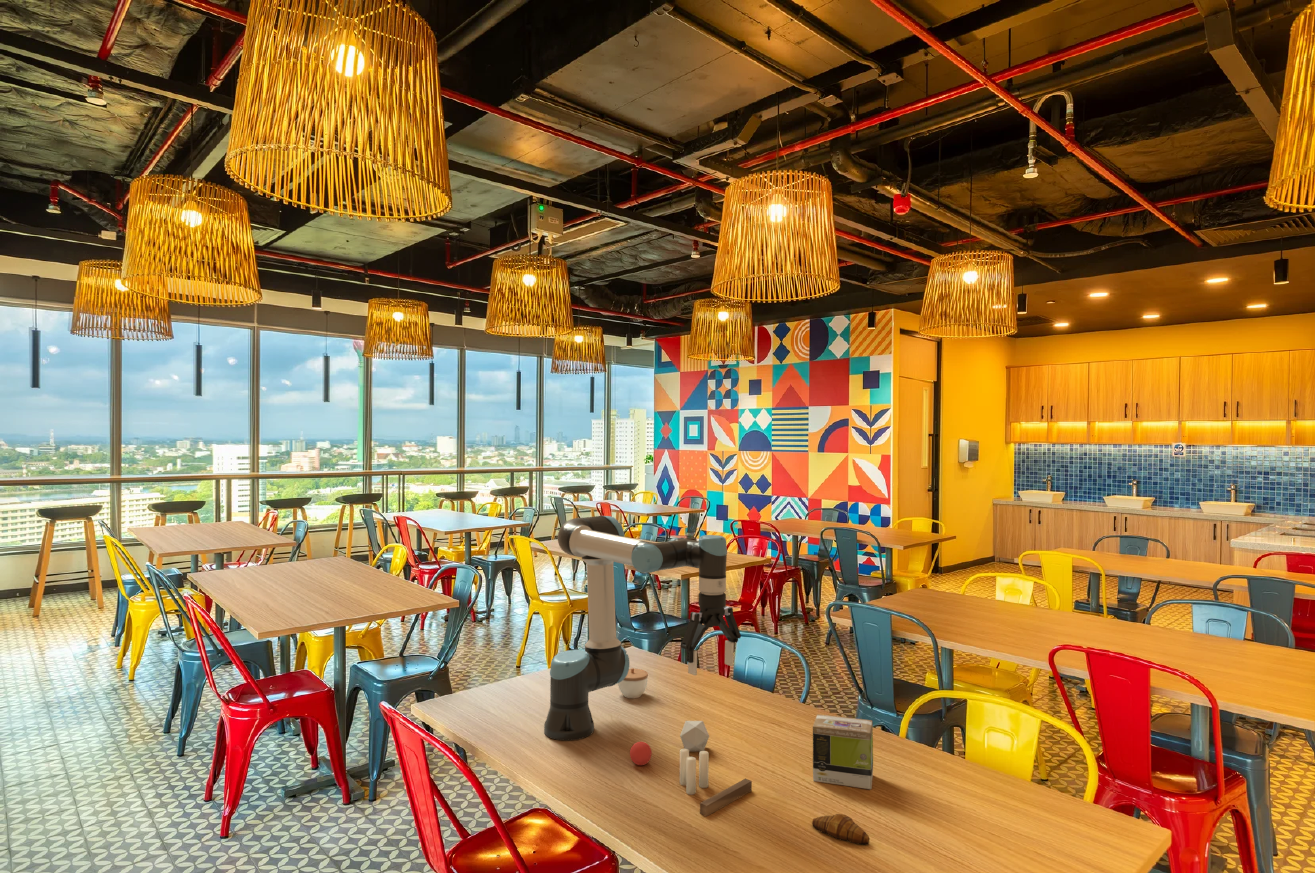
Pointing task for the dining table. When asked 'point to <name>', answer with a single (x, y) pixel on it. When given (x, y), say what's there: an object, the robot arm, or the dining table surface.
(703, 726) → the die
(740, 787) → the back rail
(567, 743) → the dining table surface
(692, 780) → the back pin right
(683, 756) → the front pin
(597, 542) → the robot arm
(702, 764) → the back pin left
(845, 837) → the croissant
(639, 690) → the lidded jar
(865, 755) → the tea box
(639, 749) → the ball
